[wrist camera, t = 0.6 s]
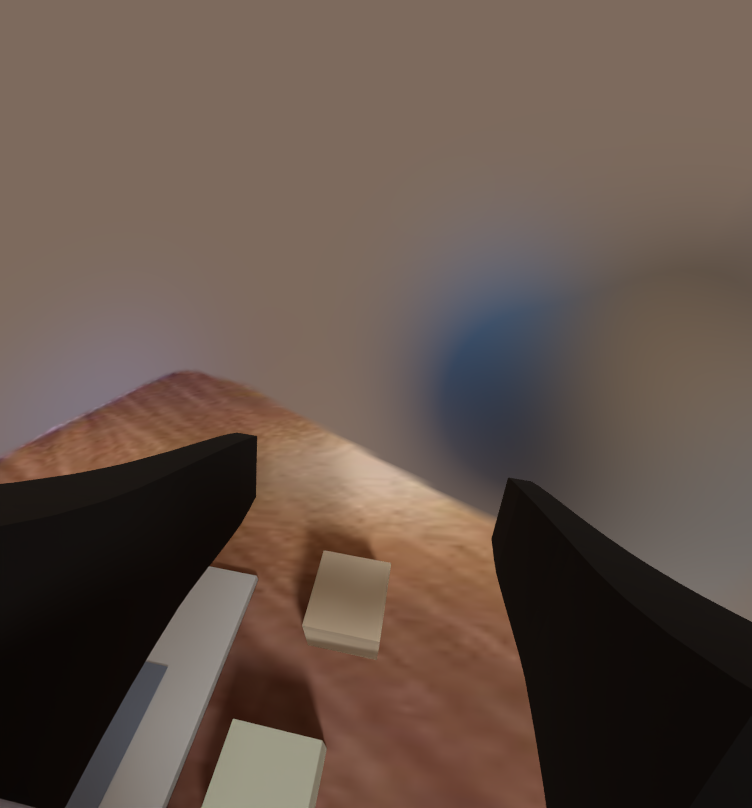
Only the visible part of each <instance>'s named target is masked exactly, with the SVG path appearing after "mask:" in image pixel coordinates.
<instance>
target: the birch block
mask: <svg viewBox="0 0 752 808" xmlns="http://www.w3.org/2000/svg"><path fill="white" fill-rule="evenodd" d="M390 567H391V563H388V562H383V561H377V560H372V559H367V558H362V557H357V556H351V555H346V554H341V553H336V552H330V551H325V550H324V552H323V555H322V559H321V562H320V565H319V569H318V572H317V576H316V579H315V583H314V586H313V590H312V593H311V597H310V600H309V603H308V607H307V610H306V614H305V617H304V621H303V624H302V626H303V630H304V633H305V637H306V640H307V643H308V645H311V646H315V647H320V648H324V649H329V650H333V651H338V652H343V653H347V654H352V655H356V656H361V657H365V658H370V659H375V660H377V656H378V649H379V643H380V636H381V630H382V623H383V616H384V609H385V602H386V595H387V588H388V581H389V574H390Z"/></svg>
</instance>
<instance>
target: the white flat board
mask: <svg viewBox="0 0 752 808" xmlns="http://www.w3.org/2000/svg"><path fill="white" fill-rule="evenodd" d="M257 581H258V578H257V576H255V575H250V574H245V573H240V572H235V571H230V570H225V569H220V568H215V567H211V566H209V567H208V568H207V570H206V571H205V572H204V574H203V575H202V576H201V578H200V579H199V580H198V581H197V583H196V584H195V585H194V587H193V588H192V589H191V591H190V592H189V593H188V595H187V596H186V598H185V599H184V601H183V602H182V603H181V605H180V606H179V608H178V609H177V611H176V613H175V614H174V616H173V617H172V619H171V621H170V622H169V624H168V625H167V627H166V629H165V630H164V632H163V633H162V635H161V637H160V638H159V640H158V641H157V643H156V645H155V646H154V648H153V650H152V651H151V653H150V655H149V657H148V658H147V660H146V662H145V663H144V665H143V667H142V668H141V670H140V672H139V674H138V675H137V677H136V679H135V680H134V682H133V684H132V685H131V687H130V689H129V691H128V692H127V694H126V696H125V698H124V700H123V701H122V703H121V705H120V707H119V709H118V710H117V712H116V714H115V716H114V717H113V719H112V721H111V723H110V725H109V726H108V728H107V730H106V732H105V734H104V735H103V737H102V739H101V741H100V743H99V744H98V746H97V748H96V750H95V752H94V754H93V756H92V758H91V759H90V761H89V763H88V765H87V767H86V769H85V771H84V773H83V775H82V777H81V779H80V780H79V782H78V784H77V786H76V788H75V790H74V792H73V794H72V796H71V798H70V800H69V801H68V803H67V805H66V807H65V808H166V807H167V805H168V802H169V800H170V797H171V795H172V792H173V790H174V787H175V785H176V782H177V780H178V777H179V775H180V773H181V770H182V768H183V765H184V763H185V760H186V758H187V755H188V753H189V750H190V748H191V745H192V743H193V740H194V738H195V735H196V733H197V730H198V728H199V725H200V723H201V720H202V718H203V715H204V713H205V710H206V708H207V705H208V703H209V700H210V698H211V695H212V693H213V690H214V688H215V685H216V683H217V681H218V678H219V676H220V673H221V671H222V668H223V666H224V663H225V661H226V658H227V656H228V653H229V651H230V648H231V646H232V643H233V641H234V638H235V636H236V633H237V631H238V628H239V626H240V623H241V621H242V618H243V616H244V613H245V611H246V608H247V606H248V603H249V601H250V598H251V596H252V594H253V591H254V589H255V586H256V584H257Z"/></svg>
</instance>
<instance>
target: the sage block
mask: <svg viewBox="0 0 752 808" xmlns="http://www.w3.org/2000/svg"><path fill="white" fill-rule="evenodd" d="M326 750H327V748H326V746H325V744H324V742H323V741H322V740H318V739H314V738H310V737H306V736H302V735H298V734H294V733H290V732H286V731H282V730H277V729H273V728H269V727H265V726H261V725H257V724H253V723H249V722H245V721H241V720H237V719H233V720H232V723H231V726H230V729H229V731H228V734H227V737H226V740H225V743H224V746H223V748H222V751H221V754H220V757H219V760H218V762H217V765H216V768H215V771H214V774H213V777H212V779H211V782H210V785H209V788H208V791H207V793H206V796H205V799H204V802H203V805H202V808H315V805H316V800H317V795H318V790H319V785H320V780H321V775H322V770H323V765H324V760H325V755H326Z"/></svg>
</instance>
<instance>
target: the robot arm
mask: <svg viewBox="0 0 752 808" xmlns="http://www.w3.org/2000/svg"><path fill="white" fill-rule="evenodd" d="M256 463H257V436H254V435H248V434H242V433H232V434H227V435H223V436H219V437H216V438H212V439H209V440H205V441H202V442H199V443H195V444H192V445H189V446H186V447H182V448H179V449H176V450H172V451H169V452H165V453H162V454H158V455H154V456H151V457H147V458H143V459H140V460H136V461H132V462H128V463H124V464H120V465H116V466H111V467H107V468H102V469H97V470H92V471H87V472H82V473H76V474H70V475H64V476H57V477H50V478H43V479H36V480H29V481H22V482H14V483H5V484H0V808H65V807H66V805H67V803H68V801H69V800H70V798H71V796H72V794H73V792H74V790H75V788H76V786H77V784H78V782H79V780H80V779H81V777H82V775H83V773H84V771H85V769H86V767H87V765H88V763H89V761H90V759H91V758H92V756H93V754H94V752H95V750H96V748H97V746H98V744H99V743H100V741H101V739H102V737H103V735H104V734H105V732H106V730H107V728H108V726H109V725H110V723H111V721H112V719H113V717H114V716H115V714H116V712H117V710H118V709H119V707H120V705H121V703H122V701H123V700H124V698H125V696H126V694H127V692H128V691H129V689H130V687H131V685H132V684H133V682H134V680H135V679H136V677H137V675H138V674H139V672H140V670H141V668H142V667H143V665H144V663H145V662H146V660H147V658H148V657H149V655H150V653H151V651H152V650H153V648H154V646H155V645H156V643H157V641H158V640H159V638H160V637H161V635H162V633H163V632H164V630H165V629H166V627H167V625H168V624H169V622H170V621H171V619H172V617H173V616H174V614H175V613H176V611H177V609H178V608H179V606H180V605H181V603H182V602H183V601H184V599H185V598H186V596H187V595H188V593H189V592H190V591H191V589H192V588H193V587H194V585H195V584H196V583H197V581H198V580H199V579H200V578H201V576H202V575H203V574H204V572H205V571H206V570H207V568H208V567H209V566H210V564H211V563H212V562H213V561H214V559H215V558H216V557H217V555H218V554H219V553H220V551H221V550H222V549H223V548H224V546H225V545H226V544H227V542H228V541H229V540H230V538H231V537H232V536H233V534H234V533H235V532H236V530H237V529H238V527H239V526H240V525H241V523H242V521H243V519H244V518H245V516H246V514H247V512H248V511H249V509H250V507H251V505H252V503H253V501H254V499H255V498H256ZM492 547H493V555H494V562H495V568H496V574H497V578H498V582H499V585H500V589H501V592H502V596H503V600H504V603H505V607H506V610H507V614H508V617H509V621H510V624H511V628H512V631H513V635H514V638H515V642H516V645H517V649H518V652H519V656H520V660H521V664H522V668H523V672H524V676H525V681H526V686H527V692H528V697H529V703H530V708H531V714H532V719H533V725H534V731H535V737H536V743H537V749H538V755H539V761H540V767H541V773H542V780H543V786H544V793H545V800H546V807H547V808H752V622H751V621H749V620H747V619H745V618H743V617H741V616H739V615H737V614H735V613H733V612H731V611H729V610H728V609H726V608H724V607H722V606H720V605H718V604H716V603H714V602H712V601H711V600H709V599H707V598H705V597H703V596H701V595H699V594H698V593H696V592H694V591H692V590H690V589H689V588H687V587H685V586H683V585H682V584H680V583H678V582H676V581H674V580H673V579H671V578H670V577H668V576H666V575H665V574H663V573H661V572H660V571H658V570H657V569H654V568H653V567H652V566H650V565H648V564H646V563H645V562H643V561H642V560H640V559H639V558H637V557H636V556H634V555H633V554H631V553H629V552H628V551H627V550H625V549H624V548H622V547H620V546H619V545H618V544H616V543H615V542H614V541H612V540H611V539H609V538H607V537H606V536H605V535H604V534H602V533H601V532H599V531H598V530H597V529H595V528H594V527H592V526H591V525H590V524H588V523H587V522H586V521H584V520H583V519H582V518H580V517H579V516H578V515H576V514H575V513H574V512H572V511H571V510H570V509H569V508H567V507H566V506H564V505H563V504H562V503H561V502H560V501H558V500H557V499H555V498H554V497H553V496H552V495H550V494H549V493H548V492H546V491H545V490H543V489H542V488H541V487H539V486H538V485H536V484H534V483H533V482H531V481H524V480H519V479H513V478H508V480H507V484H506V488H505V491H504V495H503V499H502V502H501V506H500V510H499V513H498V517H497V521H496V524H495V528H494V532H493V535H492Z"/></svg>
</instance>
